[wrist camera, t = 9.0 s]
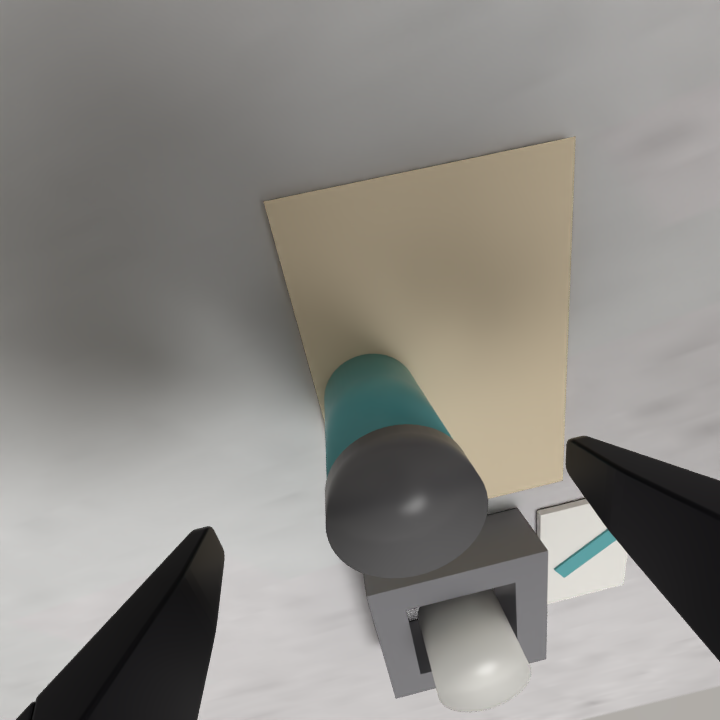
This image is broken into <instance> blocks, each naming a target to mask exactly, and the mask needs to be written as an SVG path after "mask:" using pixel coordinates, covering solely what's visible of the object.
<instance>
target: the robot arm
mask: <svg viewBox="0 0 720 720" xmlns="http://www.w3.org/2000/svg"><path fill="white" fill-rule="evenodd" d="M566 469H567V472H568V474H569V475H570V477H571V478H572V480H573V481H574V483H575V484H576V486H577V487H578V488H579V490H580V491H581V493H582V494H583V495H584V497H585V498H586V500H587V501H588V503H589V504H590V505H591V507H592V508H593V510H594V511H595V512H596V514H597V515H598V517H599V518H600V520H601V521H602V522H603V524H604V525H605V526H606V528H607V529H608V530H609V532H610V533H611V534H612V535H613V536H614V538H615V539H616V540H617V541H618V543H619V544H620V545H621V546H622V547H623V548H624V550H625V551H626V552H627V553H628V554H629V555H630V557H631V558H632V559H633V560H634V561H635V563H636V564H637V565H638V566H639V567H640V568H641V570H642V571H643V572H644V573H645V574H646V575H647V577H648V578H649V579H650V580H651V581H652V583H653V584H654V585H655V586H656V587H657V588H658V590H659V591H660V592H661V593H662V594H663V595H664V597H665V598H666V599H667V600H668V601H669V602H670V604H671V605H672V606H673V607H674V608H675V610H676V611H677V612H678V613H679V614H680V615H681V617H682V618H683V619H684V620H685V621H686V622H687V624H688V625H689V626H690V627H691V628H692V630H693V631H694V632H695V633H696V634H697V635H698V637H699V638H700V639H701V640H702V641H703V642H704V644H705V645H706V646H707V647H708V648H709V650H710V651H711V652H712V653H713V654H714V655H715V657H716V658H717V659H718V660H719V661H720V481H719V480H716V479H713V478H710V477H707V476H704V475H701V474H698V473H695V472H692V471H689V470H686V469H683V468H680V467H677V466H674V465H671V464H669V463H666V462H663V461H660V460H657V459H654V458H651V457H648V456H645V455H642V454H639V453H636V452H633V451H630V450H627V449H624V448H621V447H618V446H615V445H612V444H609V443H606V442H603V441H600V440H597V439H594V438H591V437H588V436H580V437H576V438H571V439H569V440H568V441H567V444H566ZM223 568H224V550H223V547H222V545H221V543H220V541H219V539H218V537H217V535H216V533H215V531H214V529H213V528H212V527H210V526H207V527H203V528H199V529H195V530H193V531H192V532H191V533H189V535H188V536H187V537H186V538H185V539H184V540H183V541H182V542H181V543H180V544H179V545H178V546H177V547H176V548H175V550H174V551H173V552H172V553H171V554H170V555H169V556H168V557H167V558H166V559H165V560H164V561H163V562H162V564H161V565H160V566H159V567H158V568H157V569H156V570H155V571H154V572H153V573H152V574H151V575H150V576H149V577H148V579H147V580H146V581H145V582H144V583H143V584H142V585H141V586H140V587H139V588H138V589H137V590H136V591H135V592H134V594H133V595H132V596H131V597H130V598H129V599H128V600H127V601H126V602H125V603H124V604H123V605H122V606H121V607H120V609H119V610H118V611H117V612H116V613H115V614H114V615H113V616H112V617H111V618H110V619H109V620H108V621H107V622H106V624H105V625H104V626H103V627H102V628H101V629H100V630H99V631H98V632H97V633H96V634H95V635H94V636H93V637H92V639H91V640H90V641H89V642H88V643H87V644H86V645H85V646H84V647H83V648H82V649H81V650H80V651H79V652H78V654H77V655H76V656H75V657H74V658H73V659H72V660H71V661H70V662H69V663H68V664H67V665H66V666H65V667H64V669H63V670H62V671H61V672H60V673H59V674H58V675H57V676H56V677H55V678H54V679H53V680H52V681H51V682H50V684H49V685H48V686H47V687H46V688H45V689H44V690H43V691H42V692H41V693H40V694H39V695H38V697H37V698H36V702H32V703H31V704H30V705H29V706H28V707H27V708H26V709H25V710H24V711H23V712H22V713H21V714H20V716H19V717H18V718H17V719H16V720H197V718H198V714H199V709H200V704H201V699H202V695H203V690H204V685H205V681H206V676H207V671H208V667H209V662H210V657H211V652H212V648H213V643H214V638H215V633H216V626H217V619H218V611H219V602H220V594H221V585H222V576H223Z"/></svg>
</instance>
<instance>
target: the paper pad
mask: <svg viewBox="0 0 720 720" xmlns="http://www.w3.org/2000/svg"><path fill="white" fill-rule="evenodd" d="M575 137H576V136H575ZM575 137H570V138H565V139H561V140H556V141H551V142H546V143H541V144H537V145H532V146H527V147H522V148H517V149H513V150H508V151H503V152H498V153H493V154H489V155H484V156H479V157H474V158H470V159H465V160H460V161H455V162H450V163H446V164H441V165H436V166H431V167H426V168H422V169H417V170H412V171H407V172H402V173H398V174H393V175H388V176H383V177H378V178H374V179H369V180H364V181H359V182H354V183H350V184H345V185H340V186H335V187H330V188H326V189H321V190H316V191H311V192H306V193H302V194H297V195H292V196H287V197H282V198H278V199H273V200H268V201H263V202H264V205H265V209H266V213H267V216H268V220H269V223H270V227H271V231H272V234H273V238H274V242H275V245H276V249H277V252H278V256H279V260H280V263H281V267H282V271H283V274H284V278H285V281H286V285H287V289H288V292H289V296H290V299H291V303H292V307H293V310H294V314H295V318H296V321H297V325H298V328H299V332H300V336H301V339H302V343H303V346H304V350H305V354H306V357H307V361H308V365H309V368H310V372H311V375H312V379H313V383H314V386H315V390H316V393H317V397H318V401H319V404H320V408H321V412H322V415H323V419H324V422H325V407H324V394H325V389H326V385H327V383H328V380H329V379H330V377H331V375H332V374H333V373H334V371H335V370H336V369H337V368H338V367H339V366H340V365H342V364H343V363H344V362H346V361H348V360H349V359H352V358H354V357H356V356H360V355H364V354H382V355H387V356H389V357H392V358H394V359H396V360H398V361H399V362H401V363H402V364H403V365H404V366H405V367H406V368H407V369H408V370H409V371H410V373H411V375H412V376H413V378H414V379H415V381H416V382H417V384H418V385H419V387H420V389H421V390H422V392H423V393H424V395H425V396H426V398H427V399H428V401H429V403H430V404H431V406H432V407H433V409H434V410H435V412H436V413H437V415H438V417H439V418H440V420H441V421H442V423H443V424H444V426H445V427H446V429H447V431H448V432H449V434H450V435H451V437H452V438H453V440H454V441H455V442H456V443H457V444H458V445H459V446H460V448H461V449H462V450H463V452H464V453H465V455H466V456H467V458H468V459H469V461H470V462H471V464H472V465H473V467H474V468H475V470H476V472H477V473H478V475H479V476H480V478H481V480H482V481H483V483H484V485H485V488H486V491H487V496H488V499H490V498H494V497H498V496H502V495H506V494H510V493H514V492H518V491H523V490H527V489H531V488H535V487H539V486H543V485H547V484H551V483H555V482H559V481H563V456H564V430H565V403H566V377H567V350H568V323H569V297H570V270H571V244H572V217H573V190H574V164H575Z"/></svg>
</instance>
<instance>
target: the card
mask: <svg viewBox="0 0 720 720" xmlns="http://www.w3.org/2000/svg"><path fill="white" fill-rule="evenodd" d="M537 536H538V537H539V539H540V540H541V541H542V543H543V544H544V546H545V547H546V548H547V550H548V590H547V604H550V603H554V602H558V601H562V600H566V599H570V598H574V597H578V596H581V595H585V594H589V593H593V592H597V591H601V590H605V589H609V588H612V587H616V586H620V585H623V583H624V576H625V569H626V562H627V556H628V553H627V552H626V551H625V550H624V548H623V547H622V546H621V545H620V544H619V543H618V541H617V540H616V539H615V538H614V536H613V535H612V534H611V533H610V532H609V530H608V529H607V528H606V526H605V525H604V524H603V522H602V521H601V520H600V518H599V517H598V515H597V514H596V512H595V511H594V510H593V508H592V507H591V505H590V504H589V503H588V501H587V500H586V499H583V500H579V501H575V502H571V503H567V504H563V505H559V506H555V507H551V508H547V509H542V510H538V511H537Z"/></svg>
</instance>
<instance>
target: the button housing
mask: <svg viewBox="0 0 720 720" xmlns="http://www.w3.org/2000/svg"><path fill="white" fill-rule="evenodd" d="M363 574H364V573H363ZM364 581H365V589H366V597H367V600H368V604H369V607H370V611H371V614H372V618H373V621H374V624H375V628H376V631H377V635H378V638H379V642H380V645H381V649H382V652H383V656H384V659H385V663H386V666H387V670H388V673H389V677H390V680H391V684H392V687H393V691H394V694H395V698H400V697H404V696H408V695H411V694H415V693H419V692H423V691H427V690H430V689H434V688H436V686H435V682H434V678H433V674H432V670H431V666H430V662H429V658H428V654H427V651H426V647H425V643H424V639H423V635H422V631H421V627H420V623H419V620H416V621H412V622H409V621H408V616H407V612H406V610H409V609H413V608H417V607H421V606H425V605H429V604H433V603H437V602H441V601H445V600H449V599H453V598H457V597H461V596H464V595H468V594H472V593H476V592H480V591H484V590H488V589H492V588H494V593H495V595H496V597H497V599H498V601H499V603H500V605H501V607H502V609H503V611H504V613H505V615H506V617H507V620H508V622H509V624H510V626H511V628H512V630H513V632H514V634H515V636H516V638H517V640H518V642H519V644H520V646H521V648H522V650H523V652H524V655H525V657H526V659H527V661H528V663H533V662H537V661H540V660H544V659H546V642H547V590H548V550H547V548H546V547H545V546H544V544H543V543H542V541H541V540H540V539H539V537H538V536H537V534H536V533H535V532H534V530H533V529H532V527H531V526H530V525H529V523H528V522H527V520H526V519H525V518H524V516H523V515H522V513H521V512H520V511H519V509H518V508H516V509H512V510H508V511H504V512H500V513H496V514H492V515H488V516H487V517H486V520H485V523H484V525H483V527H482V530H481V532H480V533H479V535H478V536H477V538H476V539H475V541H474V542H473V543H472V544H471V545H470V547H468V548H467V549H466V550H465V551H464V552H463V553H462V554H461V555H460V556H458V557H457V558H456V559H454V560H453V561H451V562H450V563H448V564H446V565H444V566H442V567H440V568H438V569H436V570H433V571H431V572H428V573H425V574H422V575H418V576H413V577H406V578H381V577H375V576H371V575H367V574H364Z"/></svg>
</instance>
